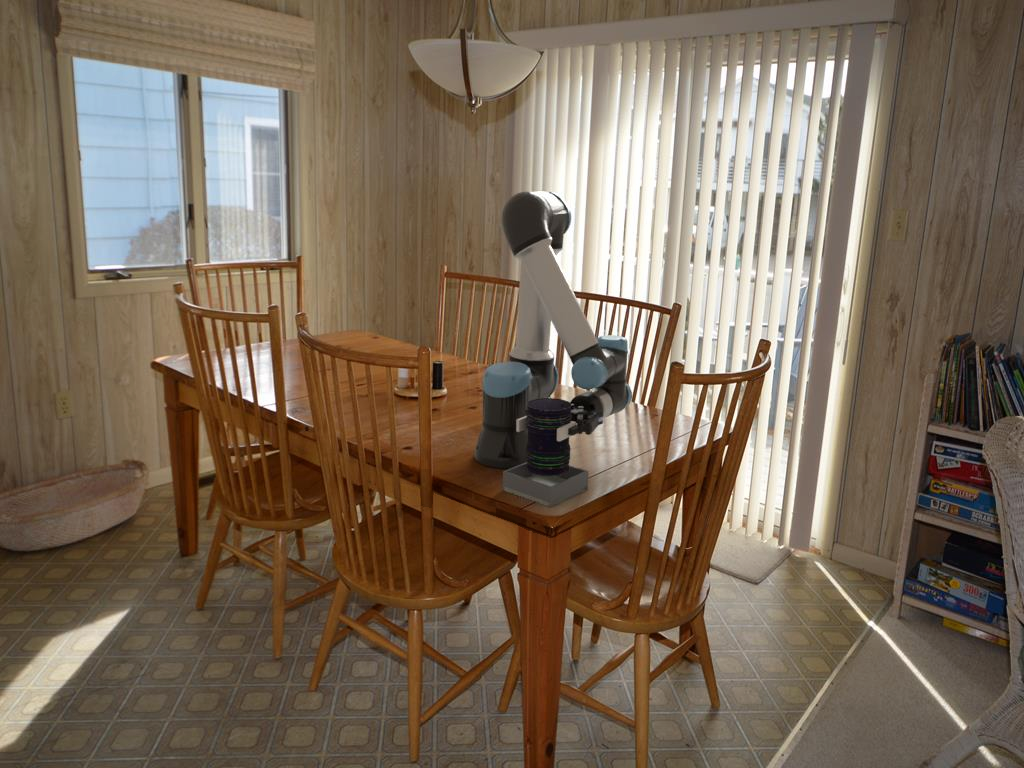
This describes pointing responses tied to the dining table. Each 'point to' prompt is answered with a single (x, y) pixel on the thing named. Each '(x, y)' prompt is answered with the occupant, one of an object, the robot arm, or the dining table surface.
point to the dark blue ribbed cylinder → (547, 437)
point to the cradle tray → (545, 484)
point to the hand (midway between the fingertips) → (537, 430)
